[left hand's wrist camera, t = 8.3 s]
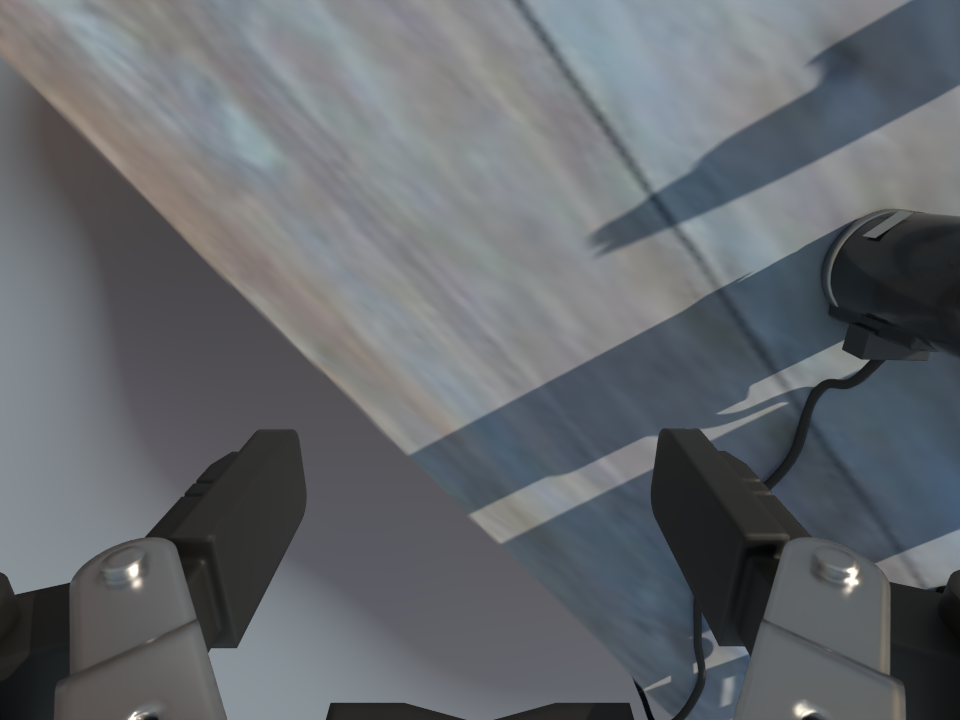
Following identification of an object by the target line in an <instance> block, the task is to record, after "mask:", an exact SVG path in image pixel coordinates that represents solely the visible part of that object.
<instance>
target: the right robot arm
mask: <svg viewBox="0 0 960 720" xmlns="http://www.w3.org/2000/svg"><path fill="white" fill-rule="evenodd" d="M945 587H946V586H941V587H939V588H938V589H937V592H938V593H943V592H944V590H945Z"/></svg>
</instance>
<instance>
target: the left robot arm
mask: <svg viewBox="0 0 960 720" xmlns="http://www.w3.org/2000/svg"><path fill="white" fill-rule="evenodd" d="M822 286H823V291H824V294H825V296H826V298H827V300H828V301H829V303H830V310H829V316H831V317H833V318H835V319H838V320H840V321H842V322H845V323H847V324H849V327H848V330H847V334H846V337H845V341H844V344H843V348H842V350H844V351H846V352H848V353H850V354H852V355H854V356H856V357H858V358H860V359H867V360H870V361H869V362H868V363H867V364H866V365H865V366H864V367H863V368H862V369H861V370H860V371H859V372H858V373H856V374H855V375H854V376H852V377H851V378H849V379H846V380H838V379H827V380H825V381H822V382H821V383H819V384H818V385H817V386H816V387H815V388H814V389H813V390H812V392H811V393H810V395H809V397H808V399H807V401H806V404H805V407H804V410H803V413H802V415H801V419H800V422H799V426H798V429H797V433H796V437H795V440H794V443H793V446H792V448H791V450H790V452H789V454H788V455H787V457H786V459H785V460H784V461H783V463H782V464H781V465H780V467H779V468H778V469H777V470H776V471H775V472H774V473H773V475H772V476H771V477H770V478H769V479H768V480H767V481H765V482H764V483H763V482H760V479H759V478H758V477H757V476H756V474H755V473H754V472H753V471H752V470H751V469H750V468H749V467H748V466H747V464H745V463H744V462H742V461H740V460H739V459H737V458H735V457H734V456H732V455H731V454H729V453H727V452H726V451H718V450H717V449H716V448H715V447H714V446H713V444H712V443H711V442H710V441H709V440H708V438H707V437H706V436H705V435H704V434H703V433H702V431H701V430H699V429H662V430H661V432H660V434H659V437H658V443H657V450H656V457H655V464H654V472H653V479H652V486H651V504H652V510H653V513H654V516H655V519H656V521H657V523H658V525H659V527H660V529H661V531H662V533H663V535H664V537H665V539H666V541H667V543H668V545H669V547H670V549H671V551H672V553H673V555H674V557H675V559H676V561H677V563H678V565H679V567H680V569H681V571H682V573H683V575H684V577H685V579H686V581H687V583H688V585H689V587H690V589H691V591H692V593H693V595H694V648H695V654H696V659H697V664H698V680H697V683H696V686H695V688H694V690H693V692H692V694H691V696H690V698H689V700H688V701H687V703H686V704H685V706H684V707H683V709H682V710H681V711H680V712H679V713H678V714H677V715H676V716H675V717H674V718H673V719H672V720H684V719H685V718H686V717H687V716H688V715H689V713H690V712H691V710H692V709H693V707H694V706H695V704H696V702H697V700H698V699H699V697H700V695H701V693H702V690H703V688H704V684H705V679H706V669H705V662H704V657H703V652H702V643H701V632H702V625H701V611H702V613H703V615H704V617H705V619H706V621H707V623H708V625H709V627H710V629H711V631H712V633H713V635H714V637H715V639H716V641H717V643H718V645H719V646H745V647H746V649H747V651H748V653H749V655H750V656H751V658H750V662H749V665H748V669H747V672H746V676H745V679H744V682H743V686H742V689H741V693H740V696H739V700H738V703H737V706H736V710H735V713H734V717H733V720H960V570H958V571H955V572H953V573H952V574H951V575H950V578H949V580H948V583H947V585H946V587H945V590H944V592H943V593H938V592H933V591H929V590H924V589H920V588H915V587H910V586H906V585H901V584H897V583H892V582H889V581H888V579H887V577H886V576H885V574H884V573H883V571H882V570H881V569H880V568H879V567H878V566H877V565H876V564H874V563H873V562H872V561H871V560H869V559H868V558H866V557H865V556H864V555H862V554H860V553H858V552H857V551H855V550H853V549H851V548H849V547H847V546H844V545H841V544H839V543H836V542H833V541H829V540H825V539H821V538H813V537H811V536H810V534H809V533H808V532H807V531H806V530H805V529H804V528H803V527H802V526H801V524H800V523H799V522H798V521H797V520H796V519H795V518H794V517H793V516H792V514H791V513H790V512H789V511H788V510H787V509H786V508H785V507H784V506H783V504H782V503H781V502H780V501H779V500H778V499H777V498H776V497H775V496H772V494H771V493H772V492H771V491H770V490H771V489H772V488H773V487H774V486H775V485H776V484H777V483H778V482H779V481H780V480H781V479H782V478H783V477H784V476H785V474H786V473H787V472H788V471H789V470H790V468H791V467H792V466H793V464H794V463H795V461H796V460H797V458H798V456H799V454H800V452H801V450H802V448H803V445H804V442H805V438H806V435H807V431H808V426H809V422H810V418H811V414H812V411H813V408H814V406H815V404H816V402H817V400H818V399H819V397H820V396H821V395H822V394H823V393H824V392H825V391H826V390H827V389H829V388H837V389H849V388H852V387H854V386H856V385H858V384H860V383H862V382H863V381H865V380H866V379H867V378H868V377H869V376H870V375H872V374H873V373H874V372H875V370H876V369H877V368H878V367H879V366H880V365H881V364H882V363H883V362H885V361H886V360H923V361H927V359H928V356H929V353H930V352H943V353H946V354H948V355H951V356H953V357H956V358H958V359H960V217H959V216H949V215H939V214H929V213H922V212H916V211H911V210H902V209H886V210H880V211H876V212H873V213H870V214H868V215H866V216H864V217H862V218H860V219H858V220H857V221H855V222H854V223H852V224H851V225H850V226H849V227H847V228H846V229H845V230H844V231H843V232H842V233H841V234H840V235H839V237H838V238H837V239H836V240H835V242H834V243H833V245H832V246H831V248H830V250H829V252H828V254H827V256H826V258H825V261H824V265H823V270H822ZM306 497H307V494H306V484H305V477H304V470H303V463H302V456H301V449H300V442H299V437H298V434H297V432H296V431H295V430H293V429H260V430H258V431H256V432H255V433H254V434H253V436H252V437H251V438H250V439H249V440H248V442H247V443H246V444H245V445H244V446H243V447H242V449H241V450H240V451H239V452H231V453H229V454H228V455H226V456H224V457H223V458H221V459H220V460H218V461H216V462H215V463H213V464H211V465H210V466H209V467H208V468H207V469H206V471H205V472H204V473H203V474H202V475H201V476H200V477H199V478H198V479H197V482H196V484H193V485H192V486H191V487H190V488H189V489H188V490H187V491H186V493H185V496H184V497H181V498H180V499H179V500H178V501H177V503H176V504H175V505H174V506H173V507H172V508H171V509H170V510H169V511H168V512H167V513H166V515H165V516H164V517H163V518H162V519H161V520H160V521H159V522H158V523H157V524H156V526H155V527H154V528H153V529H152V530H151V531H150V532H149V533H148V534H147V536H146V537H145V538H140V539H135V540H131V541H127V542H124V543H121V544H119V545H116V546H113V547H111V548H109V549H107V550H105V551H103V552H102V553H100V554H98V555H96V556H95V557H94V558H92V559H91V560H89V561H88V562H87V563H86V564H84V565H83V566H82V567H81V568H80V569H79V570H78V571H77V573H76V574H75V576H74V577H73V579H72V581H71V583H67V584H63V585H58V586H53V587H49V588H44V589H39V590H35V591H31V592H26V593H21V594H17V595H15V594H14V592H13V589H12V587H11V585H10V582H9V580H8V577H7V576H6V575H5V574H3V573H1V572H0V720H227V717H226V713H225V710H224V706H223V703H222V700H221V696H220V693H219V689H218V686H217V682H216V679H215V676H214V672H213V669H212V665H211V662H210V658H209V655H208V653H209V651H210V649H211V648H237V647H238V645H239V643H240V641H241V639H242V637H243V635H244V633H245V631H246V629H247V627H248V625H249V623H250V621H251V619H252V617H253V615H254V613H255V611H256V609H257V607H258V605H259V603H260V601H261V599H262V597H263V595H264V594H265V592H266V589H267V588H268V586H269V584H270V581H271V580H272V578H273V576H274V574H275V572H276V570H277V568H278V566H279V564H280V562H281V560H282V558H283V556H284V554H285V552H286V550H287V548H288V546H289V544H290V542H291V540H292V538H293V536H294V534H295V532H296V530H297V528H298V526H299V524H300V522H301V521H302V518H303V515H304V512H305V507H306ZM633 681H634V684H635V686H636V689H637V691H638V693H639V696H640V698H641V701H642V704H643V707H644V710H645V713H646V716H647V719H648V720H655V719H654V717H653V715H652V712H651V709H650V706H649V703H648V700H647V698H646V695H645V693H644V690H643V689H642V688H641V686H640V685H639V684H638V683H637V682H636V681H635V680H634V679H633ZM326 720H465V719H461V718H457V717H454V716H450V715H446V714H443V713H439V712H435V711H432V710H428V709H424V708H421V707H417V706H414V705H410V704H406V703H331V704H330V707H329V710H328V714H327V718H326ZM495 720H634V718H633V714H632V710H631V707H630V703H554V704H550V705H546V706H543V707H539V708H536V709H532V710H528V711H525V712H521V713H517V714H514V715H510V716H506V717H503V718H499V719H495Z"/></svg>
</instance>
